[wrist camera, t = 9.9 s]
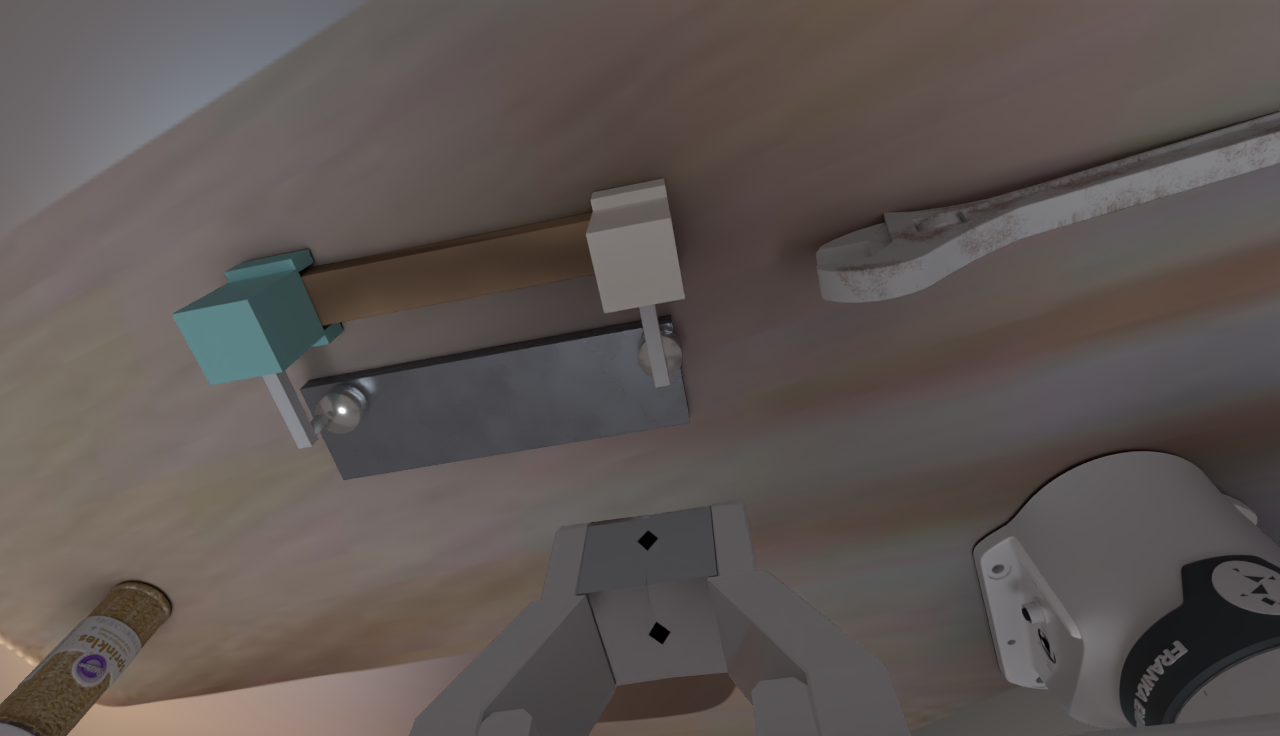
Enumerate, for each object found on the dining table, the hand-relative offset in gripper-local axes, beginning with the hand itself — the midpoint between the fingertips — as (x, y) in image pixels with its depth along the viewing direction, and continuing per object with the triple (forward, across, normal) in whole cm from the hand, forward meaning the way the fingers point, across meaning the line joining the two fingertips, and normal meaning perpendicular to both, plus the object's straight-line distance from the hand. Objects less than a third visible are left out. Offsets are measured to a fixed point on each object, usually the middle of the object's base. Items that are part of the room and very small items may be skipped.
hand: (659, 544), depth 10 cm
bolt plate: (+28, +13, +10) cm, 33 cm away
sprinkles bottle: (+28, +45, +22) cm, 57 cm away
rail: (+28, +12, +1) cm, 31 cm away
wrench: (+30, -22, +4) cm, 37 cm away
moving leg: (+28, +23, +3) cm, 36 cm away
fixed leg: (+28, +2, +4) cm, 29 cm away
